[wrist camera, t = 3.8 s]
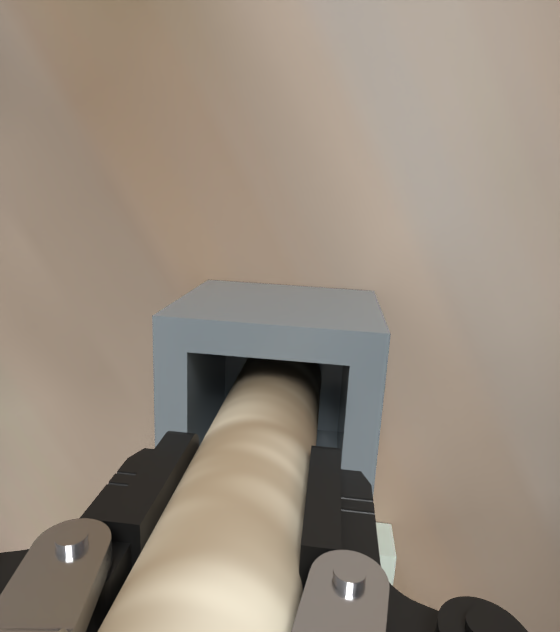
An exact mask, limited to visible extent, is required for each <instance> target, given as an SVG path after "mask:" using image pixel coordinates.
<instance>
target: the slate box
mask: <svg viewBox="0 0 560 632" xmlns="http://www.w3.org/2000/svg"><path fill="white" fill-rule="evenodd" d="M152 318H153V367H154V415H155V447H156V446H157V445H158V443H159V442H160V440H161V439H162V438H163V436H164V435H165V434H166V432H167V431H176V432H186V433H196V434H198V437H199V446H200V444H201V442H202V441H203V439H204V437H205V435H206V433H207V431H208V430H209V428H210V426H211V424H212V422H213V421H214V419H215V417H216V415H217V413H218V411H219V410H220V408H221V406H222V404H223V402H224V400H225V399H226V397H227V395H228V393H229V391H230V390H231V388H232V386H233V384H234V382H235V380H236V379H237V377H238V375H239V373H240V371H241V370H242V368H243V366H244V364H245V362H246V360H247V359H248V357H250V358H262V359H274V360H286V361H298V362H310V363H318V365H319V368H320V371H321V392H320V404H319V416H318V428H317V440H316V446H323V447H333V448H340V449H341V469H344V470H354V471H361V472H362V473H363V474H364V476H365V477H366V478H367V480H368V481H369V482H370V484H371V485H372V494H373V492H374V482H375V473H376V464H377V455H378V445H379V436H380V427H381V417H382V408H383V399H384V390H385V380H386V371H387V362H388V353H389V343H390V331H389V328H388V326H387V323H386V321H385V318H384V315H383V313H382V310H381V308H380V305H379V302H378V300H377V297H376V295H375V292H374V291H367V290H352V289H338V288H323V287H308V286H293V285H278V284H263V283H248V282H233V281H218V280H207V281H205V282H204V283H202V284H201V285H199V286H198V287H196V288H195V289H193V290H191V291H190V292H188V293H187V294H185V295H184V296H182V297H181V298H179V299H178V300H176V301H174V302H173V303H171V304H170V305H168V306H167V307H165V308H164V309H162V310H161V311H159V312H157V313H156V314H154V315H153V316H152Z"/></svg>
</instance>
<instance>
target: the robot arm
mask: <svg viewBox="0 0 560 632" xmlns="http://www.w3.org/2000/svg"><path fill="white" fill-rule="evenodd" d="M198 448H199V437H198V434H196V433H186V432H176V431H167V432H166V434H165V435H164V436H163V438H162V439H161V440H160V442H159V443H158V445H157V446H156V447H155V449H147V448H144V449H142V450H141V451H139V452H137V453H136V454H134V455H132V456H131V457H129V458H128V459H127V460H126V461H125V462H124V464H123V465H122V466H121V467H120V469H119V470H118V471H117V474H115V475H114V476H113V477H112V479H111V480H110V481H109V484H108V485H106V486H105V487H104V489H103V490H102V491H101V492H100V494H99V495H98V496H97V497H96V499H95V500H94V501H93V502H92V504H91V505H90V506H89V507H88V509H87V510H86V511H85V512H84V514H83V515H82V516H81V517H80V518H79V519H72V520H68V521H64V522H62V523H59V524H57V525H54V526H52V527H51V528H49V529H47V530H46V531H44V532H43V533H42V534H41V535H40V536H39V537H38V538H37V539H36V540H35V541H34V543H33V544H32V546H31V547H30V549H27V550H21V551H13V552H4V553H0V632H98V630H99V628H100V626H101V624H102V623H103V621H104V619H105V617H106V615H107V613H108V612H109V610H110V608H111V606H112V604H113V603H114V601H115V599H116V597H117V595H118V593H119V592H120V590H121V588H122V586H123V584H124V583H125V581H126V579H127V577H128V575H129V573H130V572H131V570H132V568H133V566H134V564H135V563H136V561H137V559H138V557H139V555H140V553H141V552H142V550H143V548H144V546H145V544H146V542H147V541H148V539H149V537H150V535H151V533H152V532H153V530H154V528H155V526H156V524H157V522H158V521H159V519H160V517H161V515H162V513H163V512H164V510H165V508H166V506H167V504H168V502H169V501H170V499H171V497H172V495H173V493H174V492H175V490H176V488H177V486H178V484H179V482H180V481H181V479H182V477H183V475H184V473H185V471H186V470H187V468H188V466H189V464H190V462H191V461H192V459H193V457H194V455H195V453H196V451H197V450H198ZM374 513H375V511H374V503H373V494H372V485H371V484H370V482H369V481H368V480H367V478H366V477H365V476H364V474H363V473H362V472H361V471H354V470H344V469H341V449H340V448H333V447H323V446H313V445H311V454H310V463H309V473H308V482H307V491H306V501H305V510H304V519H303V529H302V538H301V549H300V564H299V575H300V578H301V581H302V587H303V594H302V597H301V601H300V604H299V607H298V611H297V614H296V617H295V620H294V624H293V627H292V630H291V632H528V631H527V630H526V629H525V628H524V627H523V626H522V625H521V623H520V622H519V621H518V620H517V619H516V618H514V617H513V616H512V615H511V614H510V613H508V612H507V611H506V610H504V609H503V608H501V607H499V606H498V605H496V604H494V603H492V602H489V601H486V600H484V599H480V598H476V597H456V598H453V599H450V600H448V601H447V602H445V603H444V604H443V605H442V606H441V608H440V610H439V611H437V610H435V609H432V608H430V607H427V606H425V605H422V604H420V603H417V602H415V601H413V600H411V599H409V598H408V597H406V596H404V595H403V594H402V593H400V592H399V591H398V590H396V589H395V588H394V587H393V586H392V585H391V584H390V582H389V580H388V577H387V575H386V573H385V571H384V570H383V569H382V567H381V563H380V555H379V546H378V538H377V529H376V520H375V515H374Z"/></svg>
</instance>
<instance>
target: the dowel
mask: <svg viewBox="0 0 560 632" xmlns="http://www.w3.org/2000/svg"><path fill="white" fill-rule="evenodd" d="M320 392H321V371H320V368H319V365H318V363H310V362H298V361H286V360H274V359H262V358H250V357H248V359H247V360H246V362H245V364H244V366H243V368H242V370H241V371H240V373H239V375H238V377H237V379H236V380H235V382H234V384H233V386H232V388H231V390H230V391H229V393H228V395H227V397H226V399H225V400H224V402H223V404H222V406H221V408H220V410H219V411H218V413H217V415H216V417H215V419H214V421H213V422H212V424H211V426H210V428H209V430H208V431H207V433H206V435H205V437H204V439H203V441H202V442H201V444H200V446H199V448H198V450H197V451H196V453H195V455H194V457H193V459H192V461H191V462H190V464H189V466H188V468H187V470H186V471H185V473H184V475H183V477H182V479H181V481H180V482H179V484H178V486H177V488H176V490H175V492H174V493H173V495H172V497H171V499H170V501H169V502H168V504H167V506H166V508H165V510H164V512H163V513H162V515H161V517H160V519H159V521H158V522H157V524H156V526H155V528H154V530H153V532H152V533H151V535H150V537H149V539H148V541H147V542H146V544H145V546H144V548H143V550H142V552H141V553H140V555H139V557H138V559H137V561H136V563H135V564H134V566H133V568H132V570H131V572H130V573H129V575H128V577H127V579H126V581H125V583H124V584H123V586H122V588H121V590H120V592H119V593H118V595H117V597H116V599H115V601H114V603H113V604H112V606H111V608H110V610H109V612H108V613H107V615H106V617H105V619H104V621H103V623H102V624H101V626H100V628H99V630H98V632H291V630H292V627H293V624H294V620H295V617H296V614H297V611H298V607H299V604H300V601H301V597H302V594H303V587H302V581H301V578H300V575H299V564H300V549H301V538H302V529H303V519H304V510H305V501H306V491H307V482H308V473H309V463H310V454H311V445H313V446H316V440H317V428H318V416H319V404H320Z"/></svg>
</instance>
